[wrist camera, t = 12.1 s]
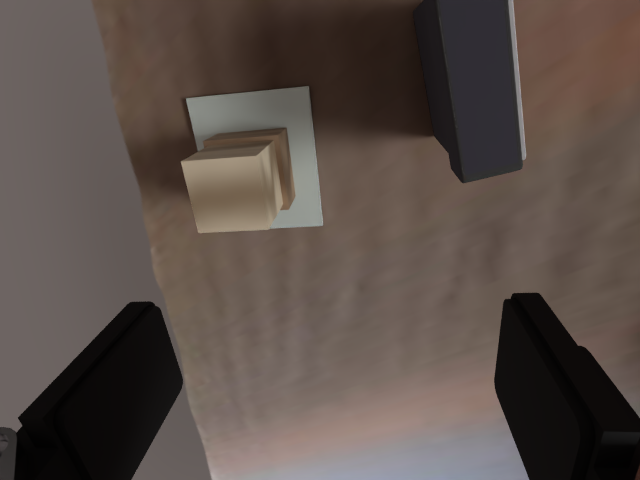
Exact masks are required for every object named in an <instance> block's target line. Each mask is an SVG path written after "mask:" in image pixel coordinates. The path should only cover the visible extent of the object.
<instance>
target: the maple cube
mask: <svg viewBox="0 0 640 480" xmlns="http://www.w3.org/2000/svg"><path fill="white" fill-rule="evenodd" d="M181 165H182V169H183V173H184V177H185V181H186V185H187V189H188V193H189V197H190V201H191V205H192V209H193V213H194V217H195V221H196V225H197V229H198V233H208V232H229V231H250V230H269V228H270V227H271V225H272V223H273V221H274V219H275V218H276V216H277V214H278V212H279V211H280V209H281V207H282V205H283V200H282V193H281V186H280V179H279V172H278V166H277V159H276V152H275V145H274V140H270V141H258V142H245V143H233V144H220V145H209V146H207V147H205V148H204V149H202V150H200V151H198V152H197V153H195V154H193V155H191V156H189V157H188V158H186V159H184V160H182V161H181Z"/></svg>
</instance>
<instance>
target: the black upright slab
mask: <svg viewBox="0 0 640 480" xmlns="http://www.w3.org/2000/svg"><path fill="white" fill-rule="evenodd" d="M413 18H414V23H415V29H416V35H417V40H418V46H419V52H420V58H421V63H422V69H423V75H424V80H425V86H426V92H427V98H428V103H429V109H430V115H431V120H432V126H433V132H434V136H435V138H436V139H437V140H438V141H439V143H440V144H441V145H442V146H443V147H444V148H445V150H446V151H447V152H448V153H449V159H450V165H451V169H452V171H453V172H454V173H455V175H456V176H457V177H458V179H459V180H460V181H461V182H462V183H467V182H471V181H476V180H480V179H484V178H488V177H493V176H497V175H501V174H505V173H509V172H513V171H517V170H521V169H522V166H523V161H522V160H524V159H526V149H525V137H524V125H523V113H522V101H521V90H520V78H519V66H518V54H517V42H516V30H515V19H514V7H513V0H424V1H423V2H422V3H421V4H420V5H419V6H418V7H417V8H416V9H415V10H414V11H413Z"/></svg>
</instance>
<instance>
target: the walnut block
mask: <svg viewBox="0 0 640 480" xmlns="http://www.w3.org/2000/svg"><path fill="white" fill-rule="evenodd" d="M270 140H274V145H275V152H276V159H277V166H278V172H279V179H280V186H281V193H282V200H283V205H282V207H281V209H280V210H289V208H290V206H291V204H292V203H293V201H294V199H295V197H296V195H295V187H294V179H293V172H292V164H291V156H290V148H289V141H288V133H287V128H275V129H263V130H252V131H240V132H228V133H218V134H216V135H214V136H212V137H210V138H208V139H206V140H204V141H203V145H204V148H205V147H207V146H209V145H220V144H233V143H245V142H258V141H270Z"/></svg>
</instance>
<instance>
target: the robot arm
mask: <svg viewBox="0 0 640 480" xmlns="http://www.w3.org/2000/svg"><path fill="white" fill-rule="evenodd" d="M494 383H495V390H496V394H497V397H498V399H499V402H500V404H501V407H502V410H503V412H504V415H505V417H506V420H507V423H508V425H509V428H510V430H511V433H512V436H513V438H514V441H515V443H516V446H517V448H518V451H519V454H520V456H521V459H522V461H523V464H524V467H525V469H526V472H527V474H528V477H529V480H640V418H639V416H638V415H637V414H636V412H635V411H634V410H633V409H632V407H631V406H630V405H629V403H628V402H627V401H626V399H625V398H624V397H623V395H622V394H621V393H620V391H619V390H618V389H617V387H616V386H615V385H614V383H613V382H612V381H611V379H610V378H609V377H608V376H607V374H606V373H605V372H604V370H603V369H602V368H601V366H600V365H599V364H598V362H597V361H596V360H595V358H594V357H593V356H592V354H591V353H590V352H589V351H588V350H587V349H586V348H585V347H582V346H578V345H577V344H576V342H575V341H574V340H573V338H572V337H571V336H570V334H569V333H568V332H567V330H566V329H565V327H564V326H563V325H562V323H561V322H560V321H559V319H558V318H557V317H556V315H555V314H554V312H553V311H552V310H551V308H550V307H549V306H548V304H547V303H546V302H545V300H544V299H543V297H542V296H541V295H540V294H539V293H514V294H512V296H511V299H505V300H504V303H503V311H502V319H501V327H500V336H499V344H498V353H497V361H496V370H495V378H494ZM182 384H183V378H182V374H181V371H180V368H179V365H178V362H177V359H176V356H175V353H174V349H173V346H172V343H171V340H170V337H169V334H168V331H167V328H166V325H165V322H164V319H163V315H162V312H161V310H160V308H159V307H157V306H155V304H154V303H153V302H130V303H129V304H127V305H126V307H124V309H123V310H122V311H121V312H120V313H119V314H118V315H117V316H116V317H115V318H114V319H113V320H112V321H111V322H110V323H109V324H108V325H107V326H106V327H105V328H104V330H102V331H101V332H100V333H99V334H98V336H97V337H95V339H94V340H93V341H92V342H91V343H90V344H89V345H88V346H87V347H86V348H85V349H84V350H83V351H82V352H81V353H80V354H79V355H78V356H77V357H76V358H75V359H74V360H73V361H72V362H71V363H70V365H68V367H67V368H66V369H65V370H64V371H63V372H62V373H61V374H60V375H59V376H58V377H57V378H56V379H55V380H54V381H53V382H52V383H51V384H50V385H49V386H48V387H47V388H46V389H45V390H44V391H43V392H42V394H40V396H39V397H38V398H37V399H36V400H35V401H34V402H33V403H32V404H31V405H30V406H29V407H28V408H27V409H26V410H25V411H24V412H23V413H22V414H21V415H20V416H19V417H18V419H19V420H20V422H21V424H22V427H21V428H20V429H19V430H18V432H17V433H16V432H15V431H14V430H12V429H11V428H6V427H0V480H131V479H132V477H133V475H134V474H135V472H136V470H137V468H138V466H139V465H140V463H141V461H142V459H143V458H144V456H145V454H146V452H147V450H148V449H149V447H150V445H151V443H152V441H153V439H154V438H155V436H156V434H157V432H158V430H159V429H160V427H161V425H162V423H163V422H164V420H165V418H166V416H167V414H168V413H169V411H170V409H171V407H172V405H173V404H174V402H175V400H176V398H177V396H178V395H179V393H180V391H181V389H182Z"/></svg>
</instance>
